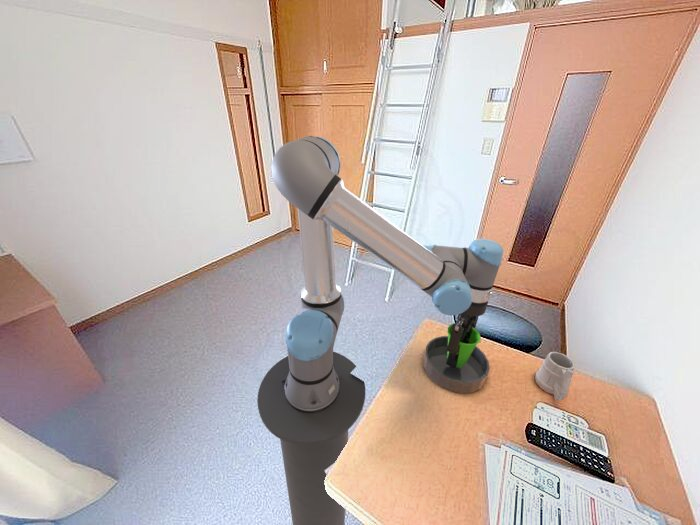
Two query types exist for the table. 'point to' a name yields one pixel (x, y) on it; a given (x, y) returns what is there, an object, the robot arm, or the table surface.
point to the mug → (555, 374)
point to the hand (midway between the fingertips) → (455, 359)
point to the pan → (460, 377)
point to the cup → (465, 346)
